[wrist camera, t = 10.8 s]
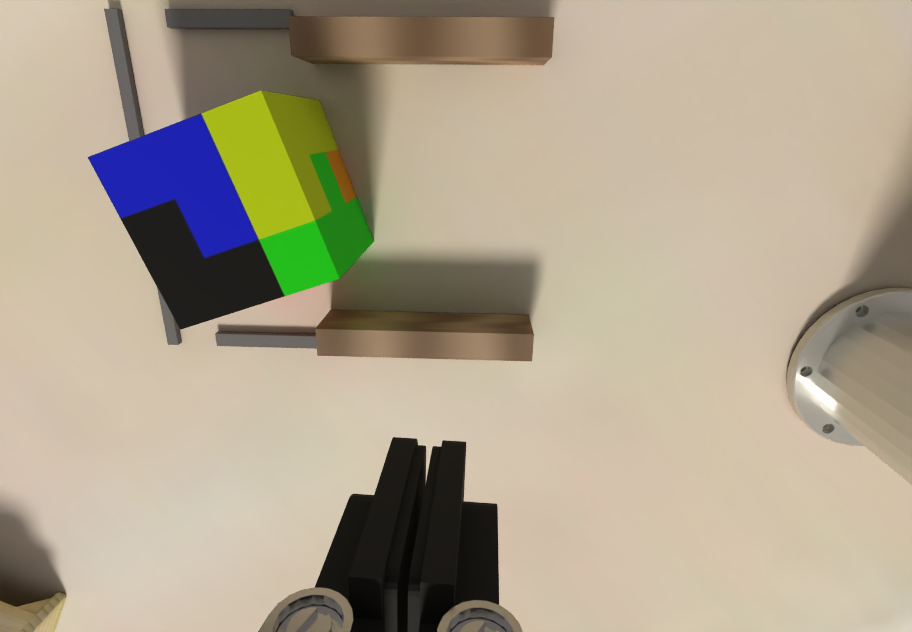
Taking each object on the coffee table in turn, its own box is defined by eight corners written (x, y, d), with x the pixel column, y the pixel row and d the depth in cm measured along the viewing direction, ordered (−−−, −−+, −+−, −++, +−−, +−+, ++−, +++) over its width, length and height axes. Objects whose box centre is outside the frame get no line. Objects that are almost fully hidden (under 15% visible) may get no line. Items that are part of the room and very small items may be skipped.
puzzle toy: (188, 149, 36) (87, 157, 27) (319, 100, 35) (260, 90, 26) (251, 281, 40) (180, 329, 30) (374, 241, 38) (339, 278, 29)
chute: (545, 29, 33) (554, 17, 29) (527, 339, 40) (532, 361, 36) (309, 28, 33) (288, 16, 30) (332, 334, 41) (317, 355, 37)
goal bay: (292, 11, 33) (289, 9, 33) (320, 345, 41) (319, 348, 40) (109, 10, 34) (104, 8, 33) (171, 342, 41) (168, 344, 41)
